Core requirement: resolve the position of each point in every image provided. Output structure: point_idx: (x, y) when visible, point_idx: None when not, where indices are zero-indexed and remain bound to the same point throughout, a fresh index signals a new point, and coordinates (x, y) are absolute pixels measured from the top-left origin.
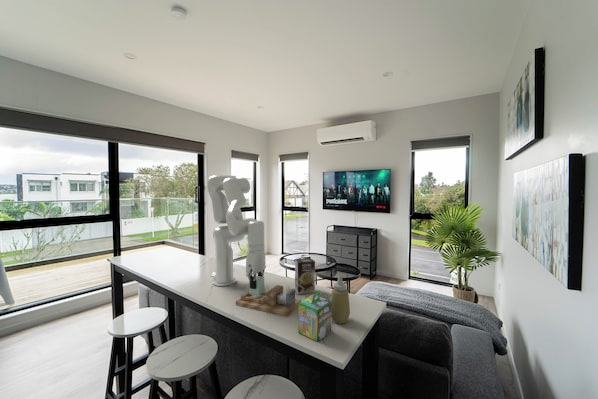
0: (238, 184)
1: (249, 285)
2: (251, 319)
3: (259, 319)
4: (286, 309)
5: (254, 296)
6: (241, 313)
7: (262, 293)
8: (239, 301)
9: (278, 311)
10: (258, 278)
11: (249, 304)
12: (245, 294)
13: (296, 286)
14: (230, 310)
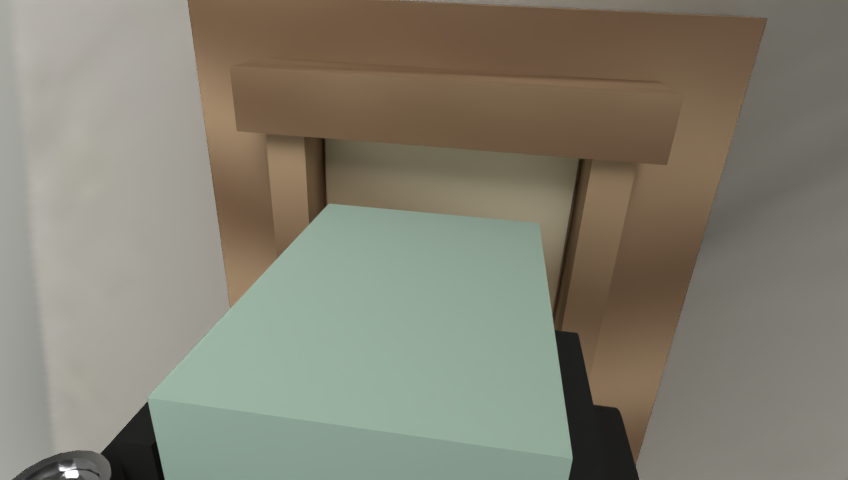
0: None
1: (257, 286)
2: (81, 359)
3: (125, 416)
4: None
5: (466, 203)
6: (97, 215)
7: (563, 308)
8: (219, 60)
9: None
10: None
11: (224, 253)
12: (322, 112)
13: None
14: (60, 37)
